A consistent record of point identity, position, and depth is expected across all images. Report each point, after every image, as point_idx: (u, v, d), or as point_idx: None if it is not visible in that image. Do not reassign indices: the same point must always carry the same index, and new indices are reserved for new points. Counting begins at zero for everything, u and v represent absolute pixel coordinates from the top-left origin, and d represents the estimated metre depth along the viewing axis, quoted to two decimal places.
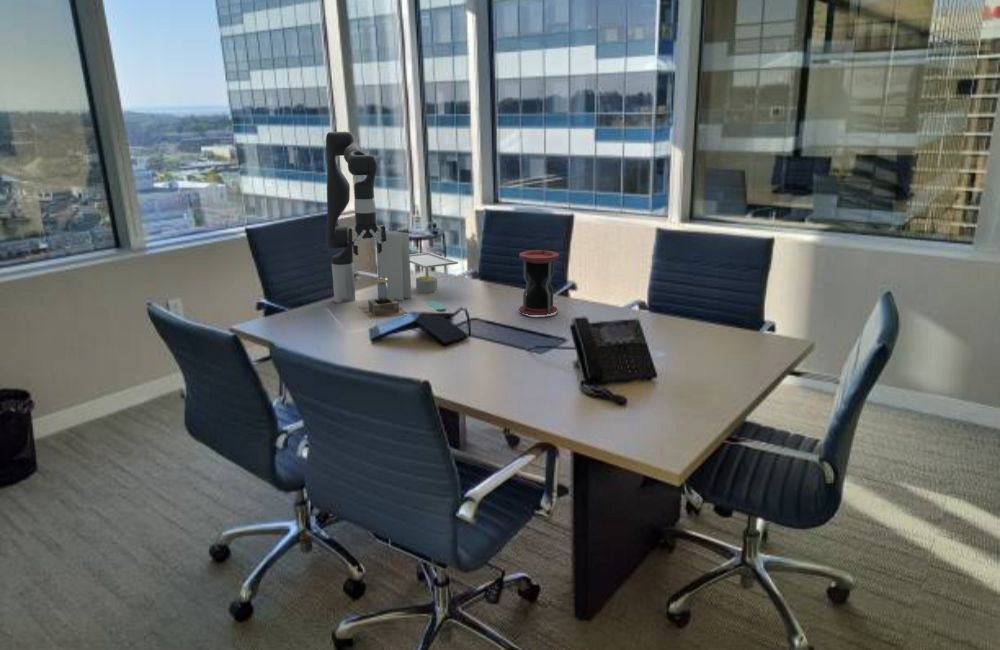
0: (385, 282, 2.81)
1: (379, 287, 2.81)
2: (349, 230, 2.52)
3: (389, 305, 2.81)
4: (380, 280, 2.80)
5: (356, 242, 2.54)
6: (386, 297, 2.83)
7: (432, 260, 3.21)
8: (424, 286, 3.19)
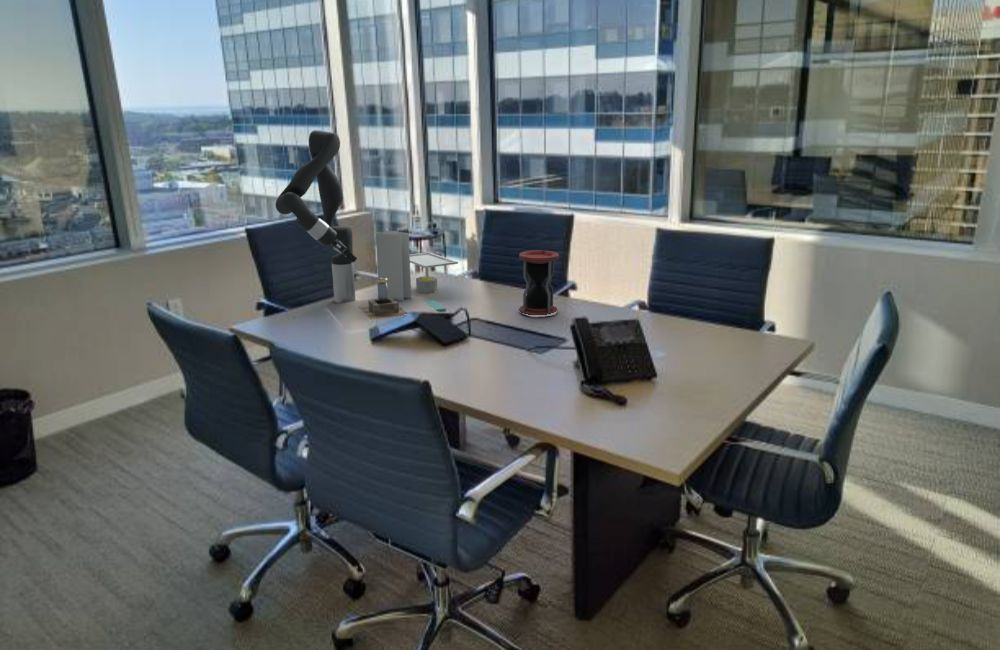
0: (385, 282, 2.81)
1: (379, 287, 2.81)
2: None
3: (389, 305, 2.81)
4: (380, 280, 2.80)
5: None
6: (386, 297, 2.83)
7: (432, 260, 3.21)
8: (424, 286, 3.19)
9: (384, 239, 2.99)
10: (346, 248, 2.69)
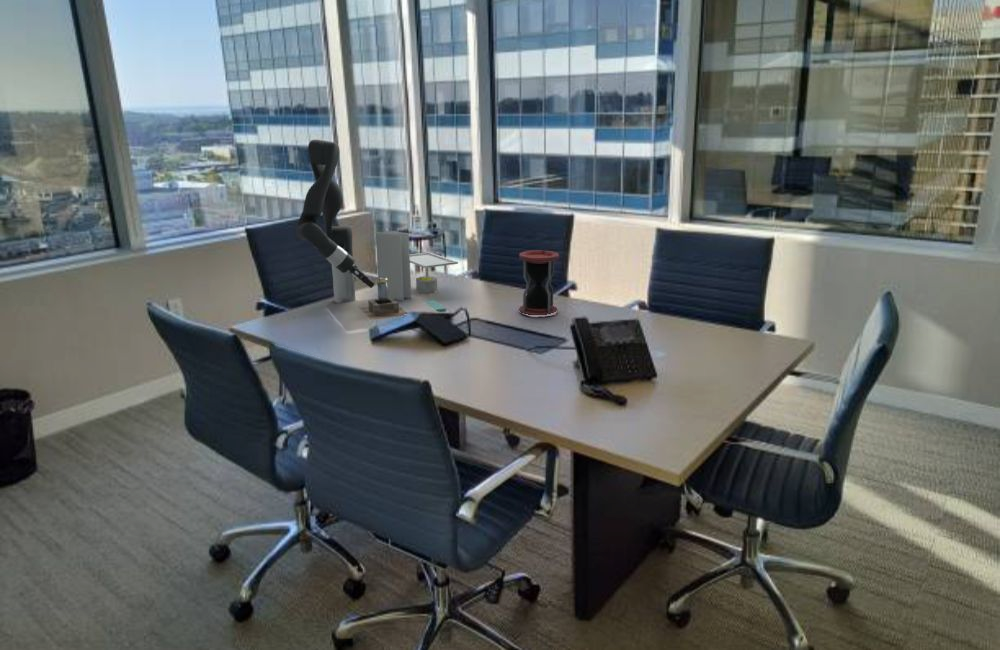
0: (385, 282, 2.81)
1: (379, 287, 2.81)
2: None
3: (389, 305, 2.81)
4: (380, 280, 2.80)
5: None
6: (386, 297, 2.83)
7: (432, 260, 3.21)
8: (424, 286, 3.19)
9: (384, 239, 2.99)
10: None
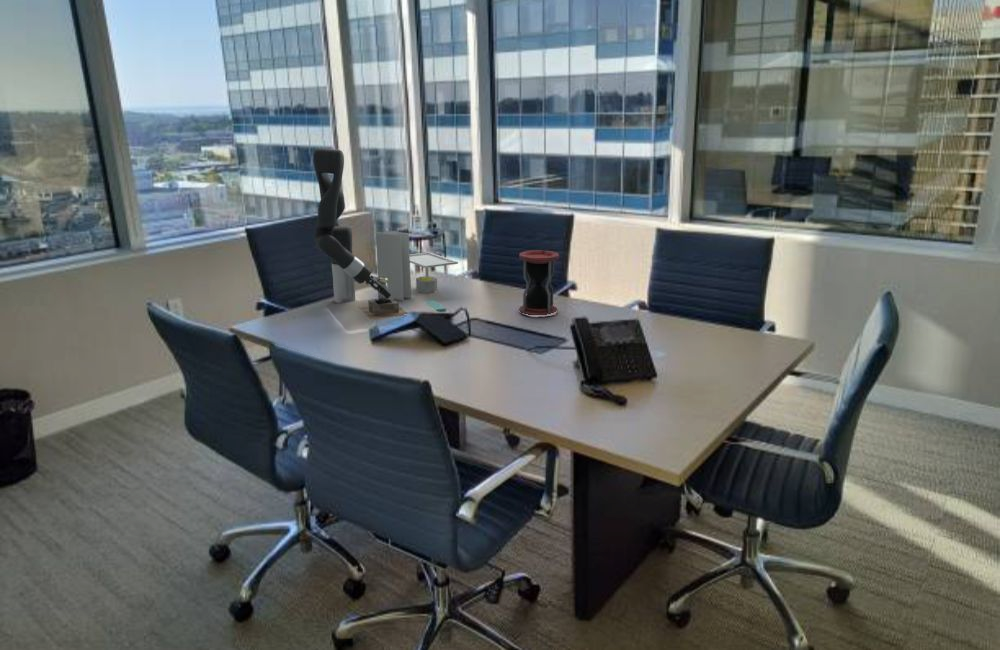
0: (385, 282, 2.81)
1: None
2: None
3: (389, 305, 2.81)
4: (380, 280, 2.80)
5: None
6: None
7: (432, 260, 3.21)
8: (424, 286, 3.19)
9: (384, 239, 2.99)
10: (380, 285, 2.81)
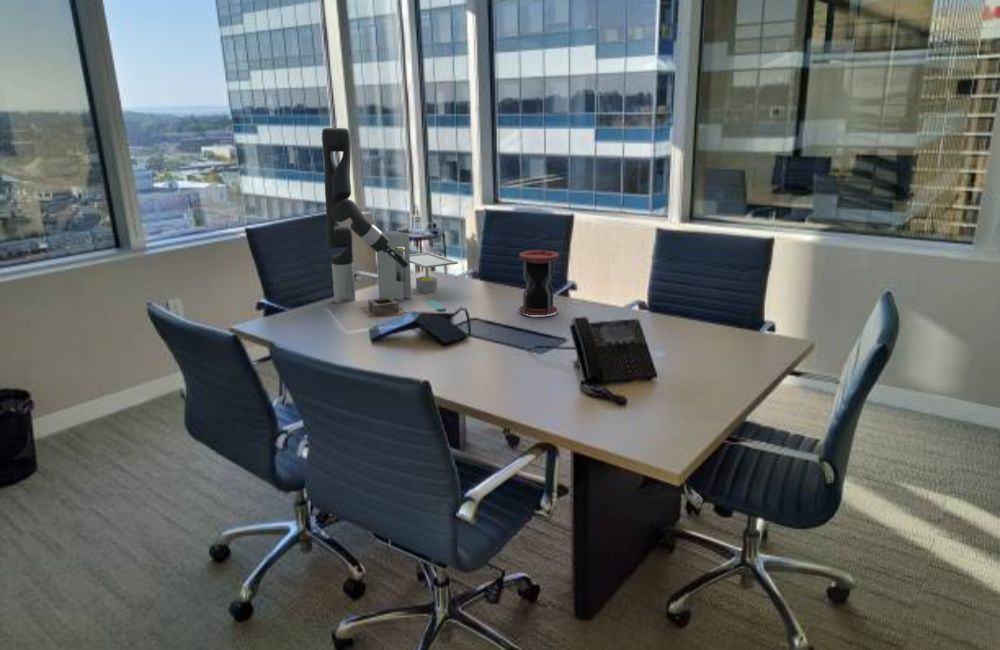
0: (402, 251, 2.80)
1: None
2: None
3: (389, 305, 2.81)
4: (397, 249, 2.79)
5: (392, 258, 2.84)
6: None
7: (432, 260, 3.21)
8: (424, 286, 3.19)
9: None
10: (397, 254, 2.80)
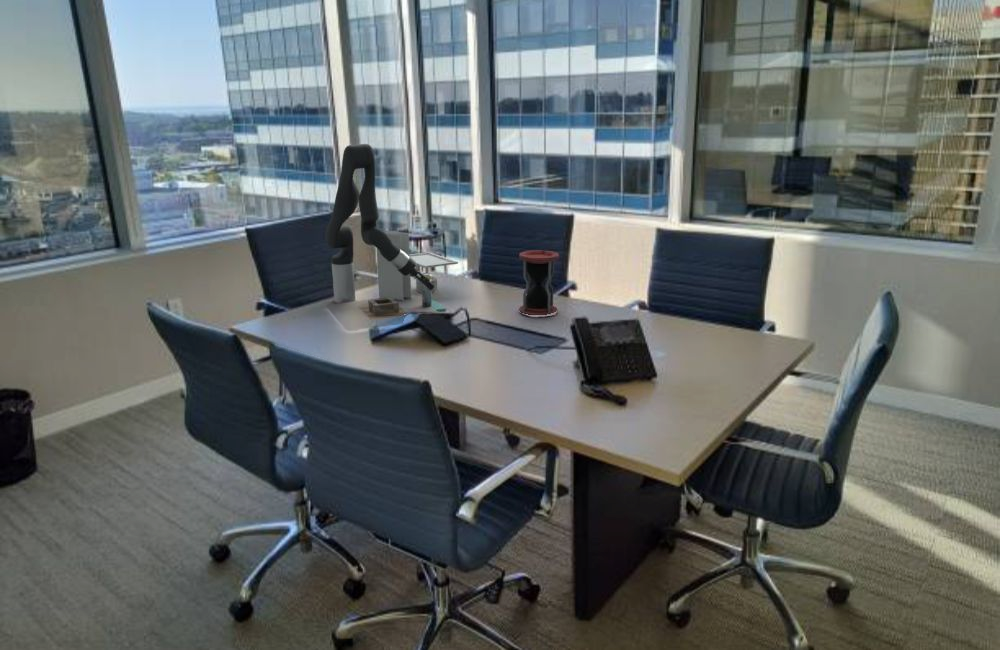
0: (429, 278, 2.89)
1: None
2: None
3: (389, 305, 2.81)
4: (425, 276, 2.88)
5: None
6: (430, 293, 2.91)
7: (432, 260, 3.21)
8: None
9: None
10: (424, 277, 2.86)
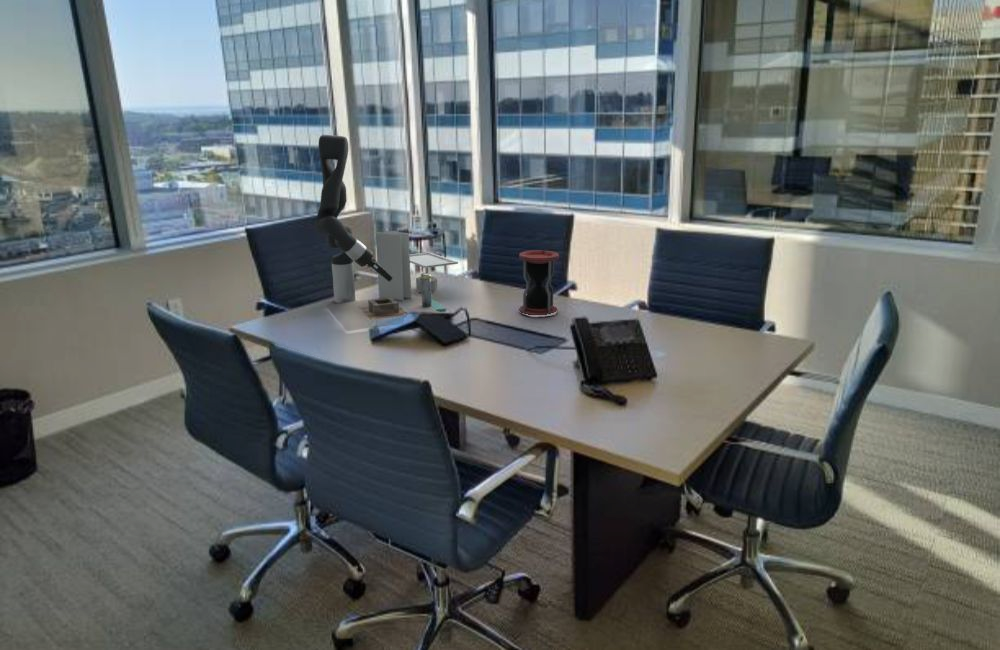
0: (429, 278, 2.89)
1: (423, 283, 2.89)
2: None
3: (389, 305, 2.81)
4: (424, 276, 2.88)
5: (374, 269, 2.85)
6: (429, 293, 2.91)
7: (432, 260, 3.21)
8: None
9: (384, 239, 2.99)
10: (382, 268, 2.78)
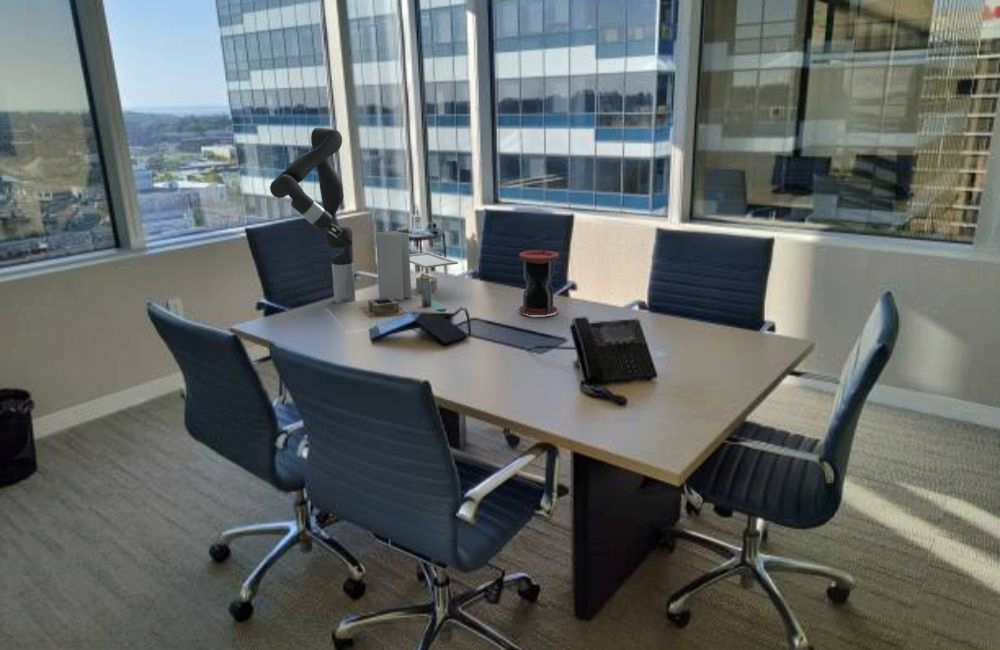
0: (429, 278, 2.89)
1: (423, 283, 2.89)
2: None
3: (389, 305, 2.81)
4: (424, 276, 2.88)
5: (334, 235, 2.74)
6: (429, 293, 2.91)
7: (432, 260, 3.21)
8: None
9: (384, 239, 2.99)
10: (341, 232, 2.68)
